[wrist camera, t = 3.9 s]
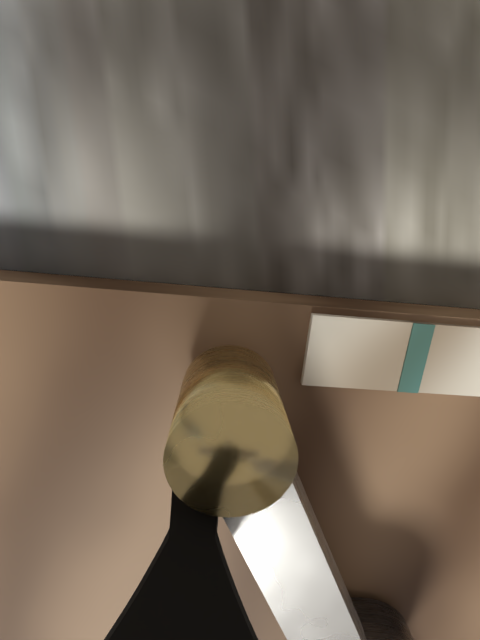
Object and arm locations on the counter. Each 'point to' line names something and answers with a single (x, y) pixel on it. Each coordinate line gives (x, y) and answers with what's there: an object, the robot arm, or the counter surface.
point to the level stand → (305, 421)
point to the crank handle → (263, 497)
